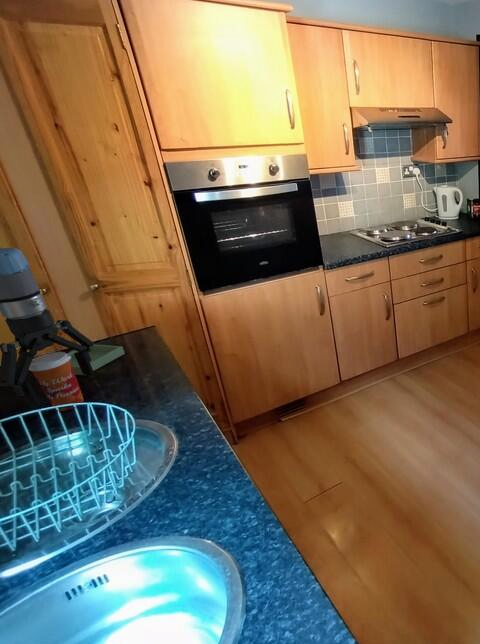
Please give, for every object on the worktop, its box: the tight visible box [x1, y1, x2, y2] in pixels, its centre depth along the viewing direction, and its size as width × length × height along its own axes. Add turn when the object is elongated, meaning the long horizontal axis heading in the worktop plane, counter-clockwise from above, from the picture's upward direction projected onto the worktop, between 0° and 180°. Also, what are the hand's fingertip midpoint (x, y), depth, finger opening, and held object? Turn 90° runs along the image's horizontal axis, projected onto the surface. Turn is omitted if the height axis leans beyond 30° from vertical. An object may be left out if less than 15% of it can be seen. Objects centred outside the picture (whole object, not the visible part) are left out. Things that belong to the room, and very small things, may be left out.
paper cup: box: [28, 351, 85, 412], centre depth 115 cm, size 8×8×14 cm
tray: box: [66, 343, 126, 376], centre depth 136 cm, size 13×13×3 cm
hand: (63, 388), depth 115 cm, fingers open, 13 cm apart
